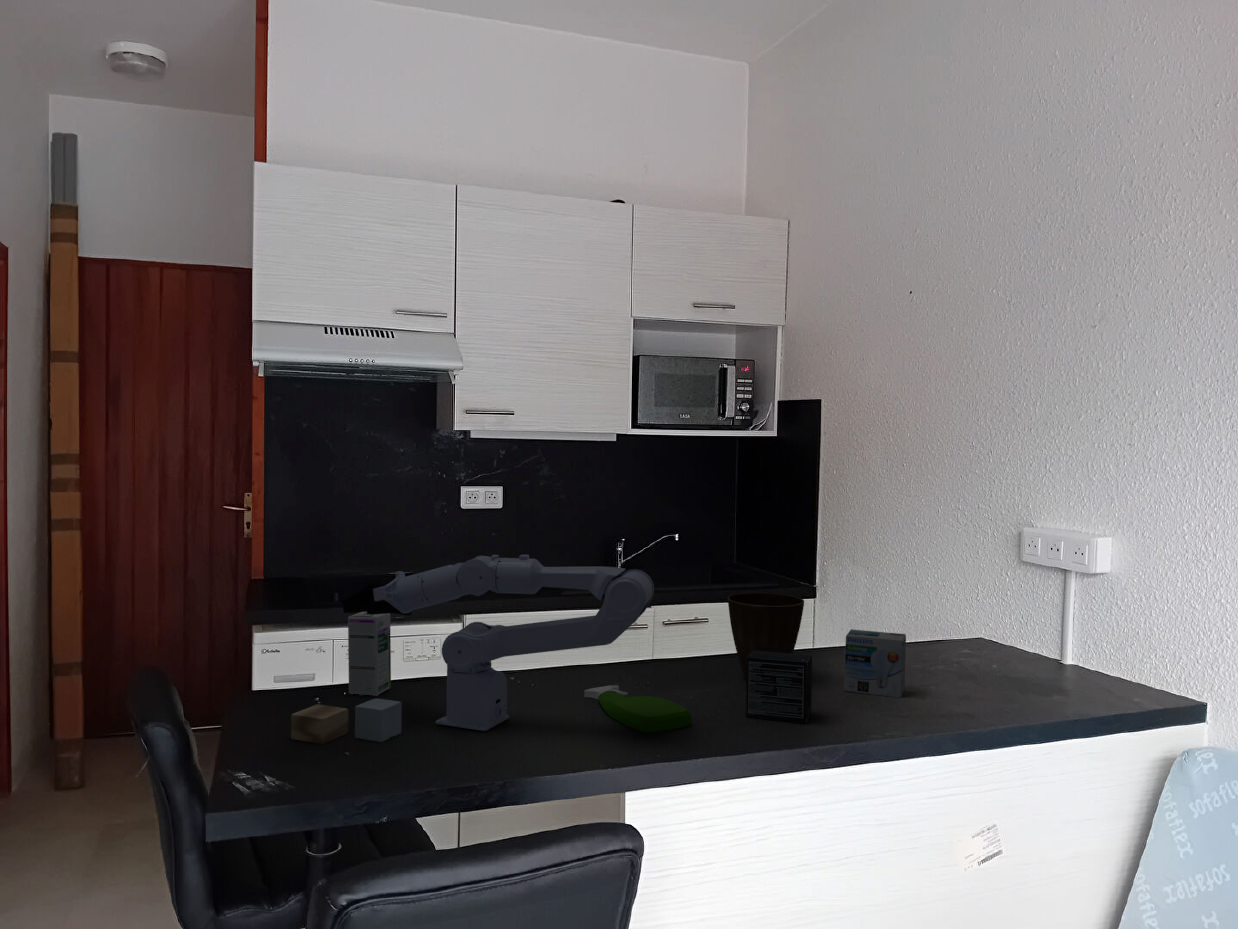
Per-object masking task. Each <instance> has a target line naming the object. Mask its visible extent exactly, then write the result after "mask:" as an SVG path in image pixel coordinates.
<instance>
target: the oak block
mask: <svg viewBox="0 0 1238 929" xmlns="http://www.w3.org/2000/svg"><path fill="white" fill-rule="evenodd" d="M290 719H291V720H290V730H291V731H290V734H291V735H290V739H291V740H295V741H296V740H297V741H301V742H308V743H313V742H314V743H313V744H319V743H320V744H319V745H324V744H327V743H328V742H331V741H333V740H335V739H337V738H340V737H341V736H342V737H343V736H344V735H346V734H348V733H349V708H345V707H340V706H339V707H338V706H331V705H325V704H318V703H317V704H314V705H312V706H310V707H307V708H305V709H302V710H299V711H297V712H294V713H291V715H290Z"/></svg>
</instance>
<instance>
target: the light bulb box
mask: <svg viewBox="0 0 1238 929" xmlns="http://www.w3.org/2000/svg"><path fill="white" fill-rule="evenodd" d="M844 647H845V650H844V651H845V652H844V681H843V682H844V683H843V684H844V685H843V686H844V687H843V689H844V690H843V691H844V692H848V693H849V692H850V693H859V694H865V695H866V694H867V695H875V696H883V697H892V698H899V699H900V698H902V697H903V694H904V691H905V689H906V688H905V687H906V686H905V685H906V650H907V635H906V633H896V632H886V631H884V632H883V631H874V630H873V631H872V630H863V629H862V630H861V629H852V628H851V629H850V630H849V631H848V633H847V634H846V635H845V646H844Z"/></svg>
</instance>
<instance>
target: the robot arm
mask: <svg viewBox="0 0 1238 929" xmlns="http://www.w3.org/2000/svg"><path fill="white" fill-rule="evenodd" d="M625 570H626V568H622V567H617V566H616V567H615V566H614V567H613V566H600V565H599V566H597V565H596V566H595V565H594V566H544V565H543V564H542V563H541V562H540V561H539V560H538V559H536V558H530V554H521V555H519V556H518V557H517V558H516V557H500V555H499V554H493V555H491V556H488V555H482V554H481V555H477V556H475V557H474V558H472V559H469V560H466V561H465V562H458V563H454V564H447V565H444V566H440V567H437V568H434V569H433V568H432V569H429V570H425V571H422V572H419V573H415V574H411V575H407V576H406V575H405V572H404V571H402V570H398V571H396V572H395V578H394V579H392V581H390V582H389V583H387V584H385V585H384V586H382V580H381V579H378V578H377V579H375V578H374V579H372V580H370V581H369V582H368V583H367V584H366V585H365V586H364V587H363V588H362V589H360V590H359V591H356V593H353V594H351V595H350V596H348V597H346V598H344V599H343V600H341V603H342V610H343V613H345V614H355V613H356V614H357V613H360V612H367V614H387V613H390V614H398V615H402V616H408V617H409V616H411V615H412V614H413V611H415V610H420V609H423V608H427V607H431V606H435V605H438V604H442V603H446V602H450V601H453V600H454V601H455V600H457V599H460V598H461V597H463V596H467V595H473V596H476V597H480V596H482V595H484V594H486V593H487V592H488V591H491V592H494V593H496V594H517V595H518V594H519V595H520V594H521V595H535V594H536V593H538V591H540V590H541V588H542V587H543V588H556V589H559V588H560V589H571V590H572V589H573V590H586V591H589V592H590V593H591V594H592V595H593V596H594V597H595V598H596V599H597V600H599V601H600V602H601V601H603V603H602V604H603V605H601V607H600V608H599V610H598V611H597V613H596V614H594V615H588V616H580V617H572V618H564V619H554V620H553V619H552V620H547V621H538V622H531V623H521V624H514V625H503V624H495V625H492V624H487V623H484V622H481V621H474V622H470V623H468V624H467V625H466V626H465V627H463V628H461V629H460V630H458V631H455V632H452V633H450V634H449V635H447V637H446V638H445V640H443V643H442V645H441V656H442V658H443V661H444V663H445V664H446V715H444V716H443V717H441V718H438V719H437V720H435V724H436V725H441V726H448V727H454V728H462V729H469V730H475V731H481V732H485V731H489V730H490V729H492V728H494V727H496V726H497V725H499V724H501V723H503V722H504V721H505V722H506V721H507V720H508V719H509V718H510V716H509V715H508V680H507V677H506V674H505V673H504V672H503V671H499V670H496V669H494V668H493V667H492V661H495V660H498V659H501V658H505V657H512V656H513V657H514V656H521V655H530V654H538V653H540V654H541V653H547V652H556V651H565V650H574V649H582V648H583V649H584V648H592V647H600V646H607V645H610V644H612V643H614V642H615V641H616V640H617V639H618V638H619V637H620V636H621V635H622V634H623V633H625V631H627V630H628V629H629V628H630V627H632V626H633V625H634V623H637V620H638V619H639V618H640V617H641V616H642V615H643V614H644V612H646V610H647V608H648V607H649V605H650V602H651V601H652V599H653V597H654V593H655V586H654V581H653V580H652V578H651V576H650V575H649V574H647V573H646V572H645V571H643V570H641V569H629V570H627V571H625ZM624 571H625V572H624ZM622 572H623V573H622Z"/></svg>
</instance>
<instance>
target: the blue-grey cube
mask: <svg viewBox="0 0 1238 929" xmlns="http://www.w3.org/2000/svg"><path fill="white" fill-rule="evenodd" d="M354 709H355V710H354V712H355V715H354V739H359V738H360V740H367V741H373V742H378V743H383V742H385V741H387V740H389V739H391V738H390V737H392V738H393V736H394V737H395V736H398V735H400V734H402V701H397V700H390V699H385V698H378V697H377V698H376V697H375V698H372V699H370V700H367V701H364V702H363V703H360V704H358V705H355V707H354Z"/></svg>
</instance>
